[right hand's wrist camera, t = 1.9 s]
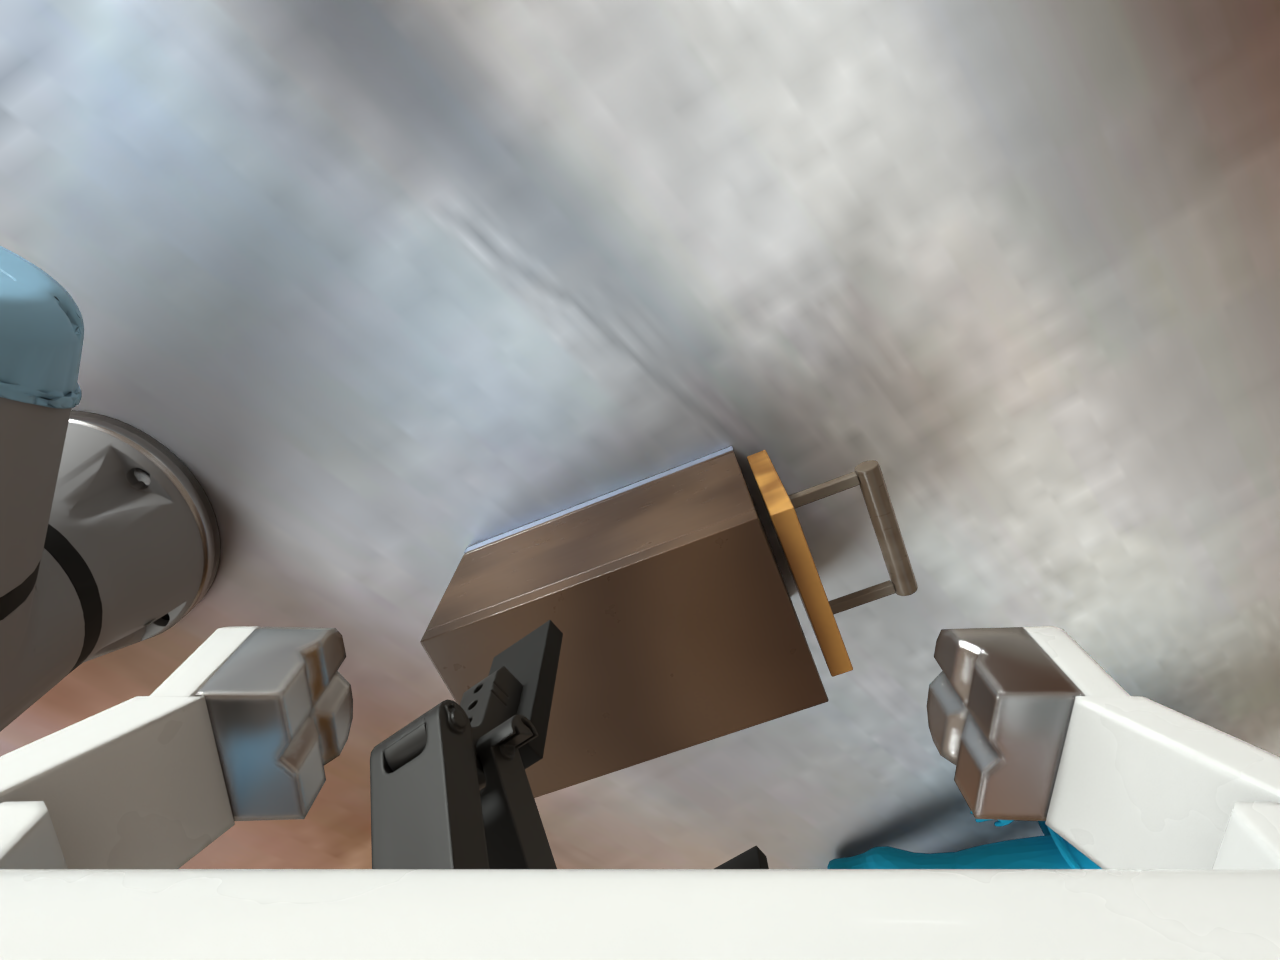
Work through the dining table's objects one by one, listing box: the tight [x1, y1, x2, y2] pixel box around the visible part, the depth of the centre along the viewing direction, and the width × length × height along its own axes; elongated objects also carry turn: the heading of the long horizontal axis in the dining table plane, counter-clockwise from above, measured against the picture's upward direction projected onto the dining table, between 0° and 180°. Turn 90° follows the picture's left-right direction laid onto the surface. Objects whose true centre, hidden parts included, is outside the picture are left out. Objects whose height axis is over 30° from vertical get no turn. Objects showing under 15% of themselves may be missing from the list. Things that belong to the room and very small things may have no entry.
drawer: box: [747, 450, 918, 676], centre depth 43 cm, size 22×10×9 cm, turn 112°
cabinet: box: [421, 446, 828, 798], centre depth 44 cm, size 18×11×11 cm, turn 112°
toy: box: [827, 811, 1102, 869], centre depth 51 cm, size 17×11×30 cm
